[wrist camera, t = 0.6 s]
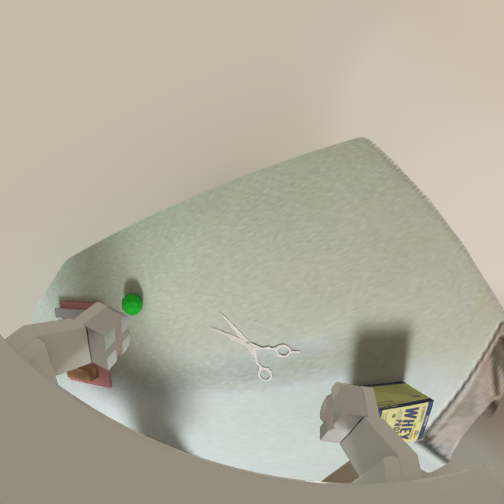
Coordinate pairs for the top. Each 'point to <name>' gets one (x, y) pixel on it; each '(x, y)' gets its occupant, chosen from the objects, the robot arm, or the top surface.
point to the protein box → (403, 409)
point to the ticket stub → (91, 375)
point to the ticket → (72, 309)
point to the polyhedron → (132, 304)
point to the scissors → (254, 347)
